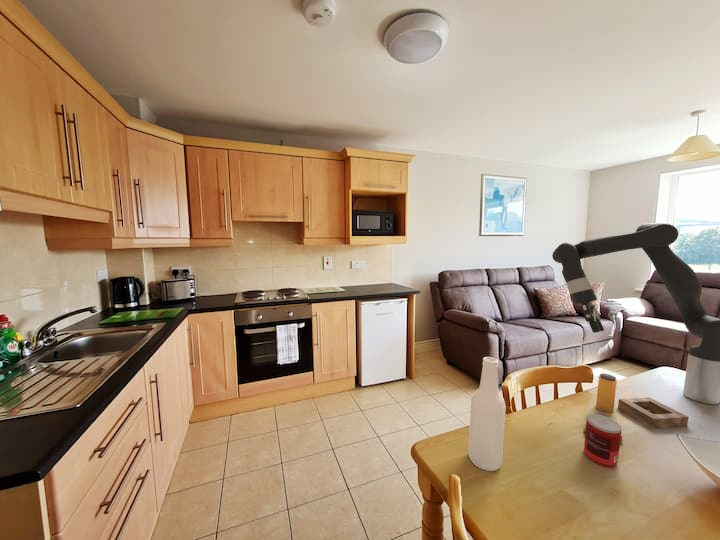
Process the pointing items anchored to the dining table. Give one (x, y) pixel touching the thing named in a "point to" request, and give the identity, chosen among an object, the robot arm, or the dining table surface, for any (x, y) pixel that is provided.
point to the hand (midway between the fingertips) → (599, 331)
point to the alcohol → (487, 420)
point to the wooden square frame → (662, 416)
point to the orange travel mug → (606, 393)
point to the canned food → (602, 440)
